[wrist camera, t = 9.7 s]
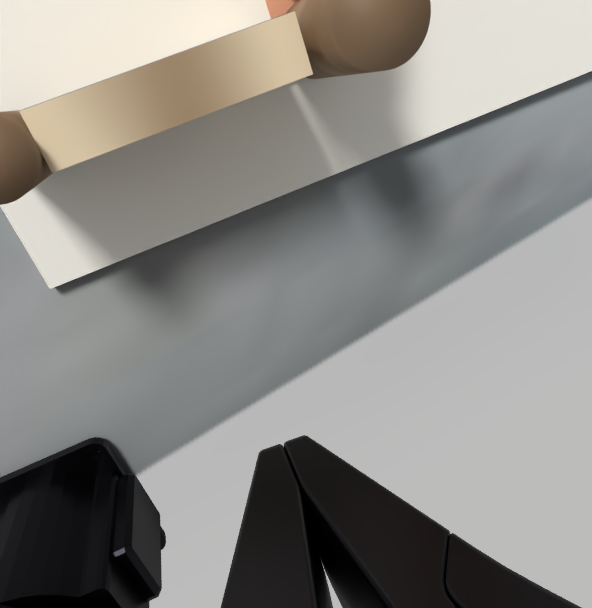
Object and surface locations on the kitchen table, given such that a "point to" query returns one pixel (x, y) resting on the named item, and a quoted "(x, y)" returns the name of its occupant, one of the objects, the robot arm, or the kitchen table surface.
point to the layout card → (252, 111)
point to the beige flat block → (147, 102)
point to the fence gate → (360, 34)
